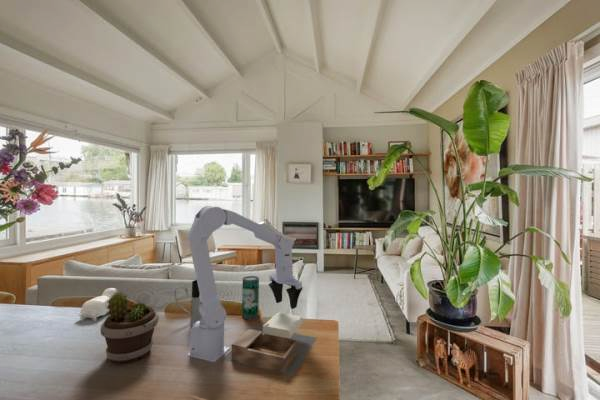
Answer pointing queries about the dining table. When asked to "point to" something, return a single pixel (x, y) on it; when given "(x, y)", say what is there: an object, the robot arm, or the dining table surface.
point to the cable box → (265, 351)
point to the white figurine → (97, 305)
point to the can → (250, 297)
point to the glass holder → (192, 303)
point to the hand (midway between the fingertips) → (286, 304)
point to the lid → (282, 325)
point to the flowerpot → (128, 329)
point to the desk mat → (303, 349)
